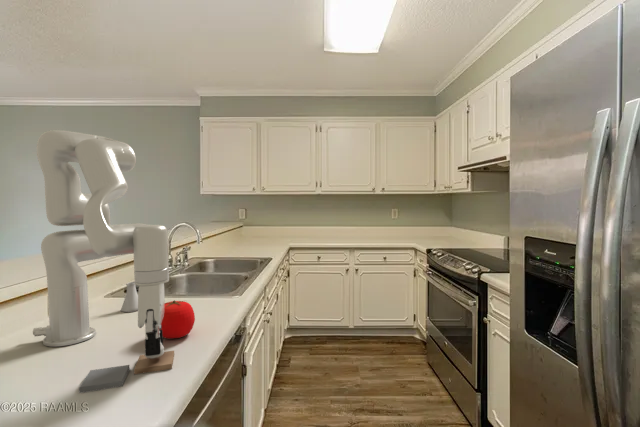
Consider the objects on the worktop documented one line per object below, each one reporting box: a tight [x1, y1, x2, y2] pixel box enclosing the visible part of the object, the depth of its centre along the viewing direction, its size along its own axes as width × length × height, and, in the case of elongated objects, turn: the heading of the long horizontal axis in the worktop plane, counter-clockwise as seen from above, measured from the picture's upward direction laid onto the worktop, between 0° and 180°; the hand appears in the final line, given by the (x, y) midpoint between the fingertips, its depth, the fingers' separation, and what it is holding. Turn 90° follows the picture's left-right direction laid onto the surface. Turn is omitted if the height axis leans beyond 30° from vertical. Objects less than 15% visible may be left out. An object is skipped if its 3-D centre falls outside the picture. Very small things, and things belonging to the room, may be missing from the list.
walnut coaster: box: [133, 350, 175, 375], centre depth 87 cm, size 8×8×1 cm
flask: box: [120, 281, 138, 313], centre depth 132 cm, size 7×7×10 cm
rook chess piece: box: [144, 322, 166, 359], centre depth 87 cm, size 4×4×8 cm
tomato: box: [161, 300, 196, 339], centre depth 105 cm, size 12×12×10 cm
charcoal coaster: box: [78, 364, 131, 394], centre depth 80 cm, size 8×8×1 cm
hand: (154, 349), depth 87 cm, fingers closed on rook chess piece, 4 cm apart
